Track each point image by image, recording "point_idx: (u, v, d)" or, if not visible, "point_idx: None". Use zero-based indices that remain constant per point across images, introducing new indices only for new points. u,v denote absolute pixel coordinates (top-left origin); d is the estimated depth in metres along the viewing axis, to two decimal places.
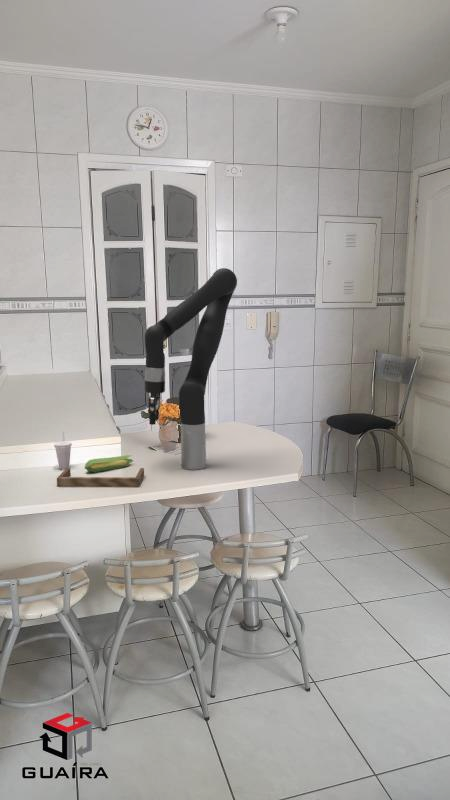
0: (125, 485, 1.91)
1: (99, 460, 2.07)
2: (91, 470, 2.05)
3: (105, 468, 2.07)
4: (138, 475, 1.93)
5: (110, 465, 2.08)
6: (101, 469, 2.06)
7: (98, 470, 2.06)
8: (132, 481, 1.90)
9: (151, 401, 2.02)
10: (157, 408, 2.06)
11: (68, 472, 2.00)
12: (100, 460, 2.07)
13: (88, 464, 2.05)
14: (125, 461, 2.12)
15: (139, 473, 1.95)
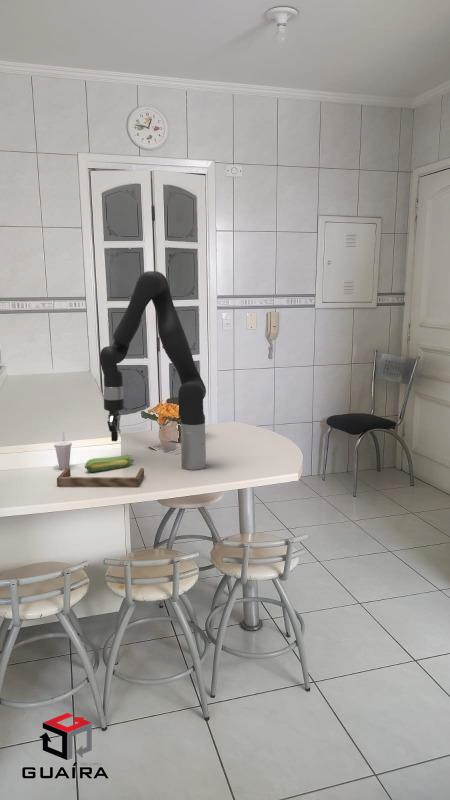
0: (125, 485, 1.91)
1: (99, 460, 2.07)
2: (91, 469, 2.05)
3: (105, 468, 2.08)
4: (138, 475, 1.93)
5: (110, 465, 2.08)
6: (101, 469, 2.07)
7: (98, 470, 2.07)
8: (132, 481, 1.90)
9: (110, 424, 2.12)
10: (117, 425, 2.17)
11: (68, 472, 2.00)
12: (100, 460, 2.07)
13: (88, 463, 2.05)
14: (126, 461, 2.12)
15: (139, 473, 1.95)
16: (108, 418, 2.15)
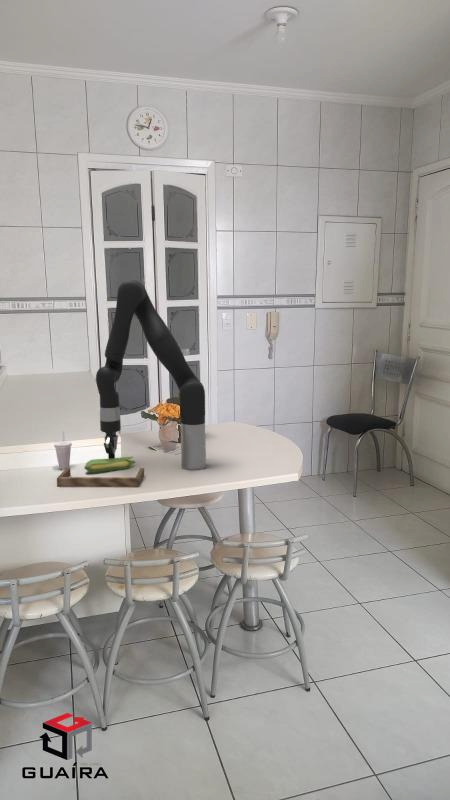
0: (125, 485, 1.91)
1: (99, 461, 2.06)
2: (90, 470, 2.04)
3: (105, 469, 2.06)
4: (138, 475, 1.93)
5: (110, 466, 2.07)
6: (101, 470, 2.05)
7: (98, 471, 2.05)
8: (132, 481, 1.90)
9: (107, 446, 2.06)
10: (115, 447, 2.11)
11: (68, 472, 2.00)
12: (100, 461, 2.06)
13: (87, 464, 2.04)
14: (126, 463, 2.10)
15: (139, 473, 1.95)
16: (105, 440, 2.10)
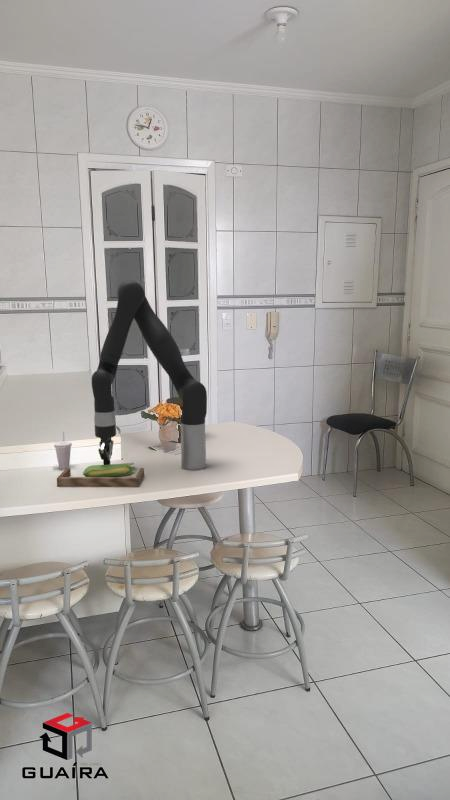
0: (125, 485, 1.91)
1: (98, 467, 1.99)
2: None
3: (104, 475, 1.99)
4: (138, 475, 1.93)
5: (109, 472, 1.99)
6: (99, 476, 1.98)
7: None
8: (132, 481, 1.90)
9: (102, 452, 1.98)
10: (110, 453, 2.03)
11: (68, 472, 2.00)
12: (99, 467, 1.99)
13: (86, 470, 1.97)
14: (126, 469, 2.02)
15: (139, 473, 1.95)
16: None
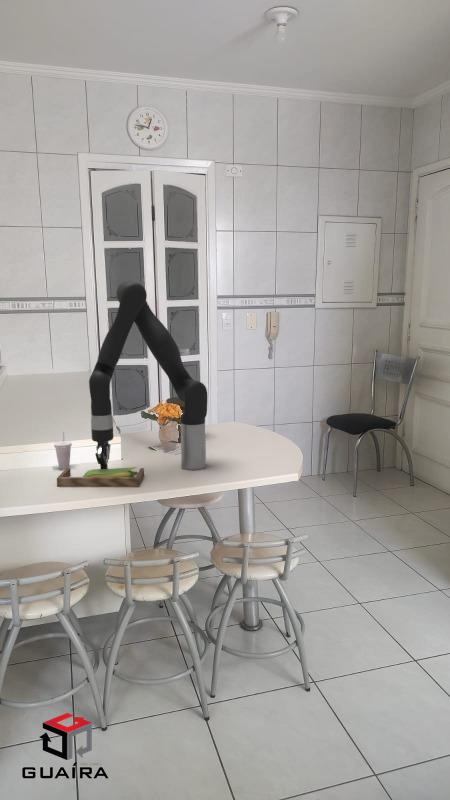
0: (125, 485, 1.91)
1: (98, 471, 1.94)
2: None
3: None
4: (138, 475, 1.93)
5: None
6: None
7: None
8: (132, 481, 1.90)
9: (99, 457, 1.93)
10: (107, 457, 1.98)
11: (68, 472, 2.00)
12: (99, 471, 1.94)
13: (86, 475, 1.93)
14: (127, 474, 1.97)
15: (139, 473, 1.95)
16: (96, 449, 1.97)
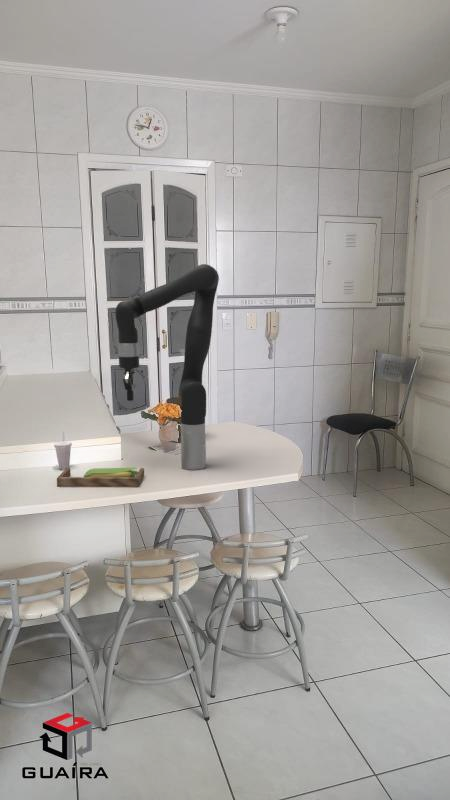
0: (125, 485, 1.91)
1: (99, 470, 1.95)
2: None
3: None
4: (138, 475, 1.93)
5: (110, 476, 1.95)
6: None
7: None
8: (132, 481, 1.90)
9: (126, 382, 2.06)
10: (133, 384, 2.11)
11: (68, 472, 2.00)
12: (100, 470, 1.95)
13: (86, 473, 1.94)
14: (128, 473, 1.97)
15: (139, 473, 1.95)
16: None
